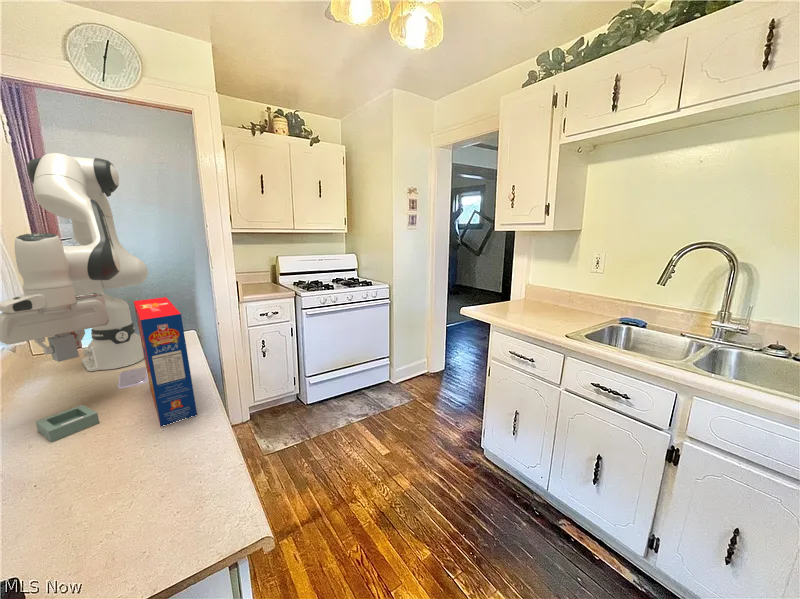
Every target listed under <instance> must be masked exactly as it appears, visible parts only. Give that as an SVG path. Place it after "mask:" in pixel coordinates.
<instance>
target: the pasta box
mask: <svg viewBox="0 0 800 599" xmlns="http://www.w3.org/2000/svg"><path fill="white" fill-rule="evenodd" d="M133 305H134V310H135V315H136V320H137V326H138V332H139V335H140V337H141V343H142V348H143V353H144V363H145V367H146V369H147V374H148V383H149V388H150V393H151V396H152V401H153V404H154V408H155V410H156V414H157V419H158V421H159V422H160V423H159V426H160V427H161V426H163V425H167V424H170V423H173V422H176V421H179V420H182V419H185V418H188V419H190V418H189V417H191V416H194V417H196V416H195V415H197V416H198V411H197V405H196V400H195V393H194V387H193V386H194V385H193V380H192V375H191V374H192V373H191V368H190V362H189V356H188V349H187V344H186V343H187V342H186V337H185V331H184V323H183V318H182V313H181V312H180V311H179V310H178V309H177V307H176V306H175V305H174V304H173V303H172V302H171V300H169V298H168V297H166V296H163V297H158V298H157V297H156V298H147V299H139V300H133ZM191 418H192V417H191ZM185 420H186V419H185ZM182 421H183V420H182ZM179 422H180V421H179ZM176 423H177V422H176ZM173 424H174V423H173ZM170 425H171V424H170ZM167 426H168V425H167ZM163 427H164V426H163Z"/></svg>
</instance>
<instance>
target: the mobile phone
mask: <svg viewBox="0 0 800 599" xmlns="http://www.w3.org/2000/svg"><path fill="white" fill-rule="evenodd" d="M145 382H146V383H147V382H148V383H149V379H148V374H147V369H146V366H144V367H143V366H142V367H139V368H134V369H128V370H124V371H121V372H120V373H119V378H118V387H117V388H118V389H125V388H129V387H134V386H139V385H142V383H143V384H146V383H145Z"/></svg>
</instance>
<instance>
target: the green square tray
mask: <svg viewBox="0 0 800 599" xmlns="http://www.w3.org/2000/svg"><path fill="white" fill-rule="evenodd" d="M95 424H96V425H98V424H100V418H99V415H98V412H97V411H94V410H93V409H91V408H89V407H87V406H86V405H84V404H80V405H77V406H75V407H71V408H69V409H67V410H63V411H61V412H58V413H55V414H52V415H49V416H47V417H44V418H41V419H38V420H36V421H35V425H36V429H37V432H38V433H39V432H40V433H41V434H40V433H39V434H40V435H42V436H43V437H44V436H45V437H46V440H48V441H49V442H50V441H51V442H50V443H53V441H54V442H56V441H58V439H59V440H61V439H64V438H65V436H66V437H68V436H71V435H73V434H75V432H76V433H78V432H81V431H83V430H86V429H88V428H91V427H93V426H95ZM90 426H91V427H90ZM87 427H88V428H87ZM85 428H86V429H85ZM82 429H83V430H82ZM80 430H81V431H80ZM70 434H71V435H70ZM63 437H64V438H63ZM60 438H61V439H60Z"/></svg>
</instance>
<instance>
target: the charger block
mask: <svg viewBox="0 0 800 599" xmlns="http://www.w3.org/2000/svg"><path fill="white" fill-rule="evenodd" d="M46 338H47V341H48V345H49V346H53V348H54V352H55V353H52V354H51V357H52V360H53V361H56V362H58V363H59V362H64V361H68V360H72V359H75V358H79V357H80V354H79V350H78V348H77V345H76V341H75V340H76V337H75V335H74V334H72V333H70V332H69V333H64V334H59V335H54V336H50V337H46Z"/></svg>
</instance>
